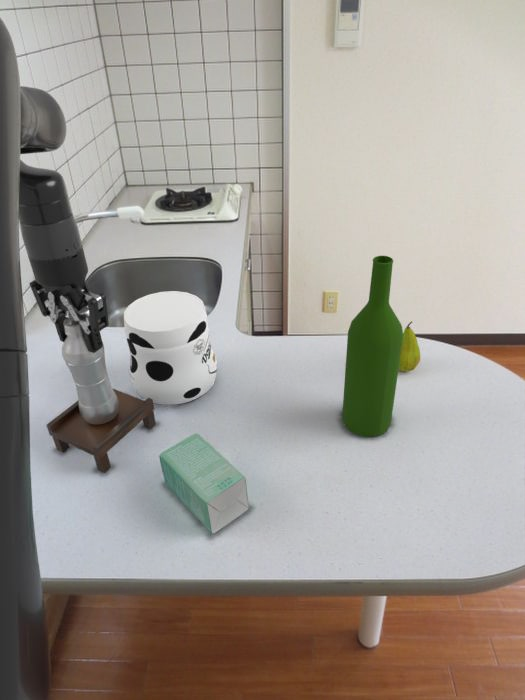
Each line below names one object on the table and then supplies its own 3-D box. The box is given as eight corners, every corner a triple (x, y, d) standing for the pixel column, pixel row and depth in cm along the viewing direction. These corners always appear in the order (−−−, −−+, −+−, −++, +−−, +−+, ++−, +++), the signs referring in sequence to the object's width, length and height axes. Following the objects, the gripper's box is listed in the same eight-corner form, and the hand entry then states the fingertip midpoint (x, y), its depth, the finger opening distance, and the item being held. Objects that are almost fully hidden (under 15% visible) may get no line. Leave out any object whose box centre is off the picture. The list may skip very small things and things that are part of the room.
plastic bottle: (126, 420, 92) (102, 323, 81) (87, 434, 89) (58, 336, 78) (115, 400, 97) (91, 306, 86) (78, 413, 94) (49, 317, 83)
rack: (104, 474, 89) (96, 448, 85) (55, 450, 94) (45, 424, 90) (157, 424, 98) (152, 399, 95) (110, 405, 104) (103, 380, 100)
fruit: (402, 355, 114) (409, 307, 107) (425, 369, 109) (433, 320, 103) (381, 366, 111) (387, 318, 104) (404, 381, 107) (411, 331, 100)
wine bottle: (399, 417, 98) (424, 256, 79) (375, 445, 92) (395, 278, 74) (357, 399, 102) (371, 242, 84) (332, 424, 97) (341, 262, 78)
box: (200, 461, 90) (195, 429, 86) (250, 509, 82) (247, 476, 77) (163, 483, 87) (156, 451, 82) (212, 536, 78) (207, 503, 74)
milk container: (236, 383, 108) (229, 307, 98) (169, 426, 98) (154, 347, 88) (182, 351, 118) (172, 280, 108) (117, 388, 108) (98, 312, 98)
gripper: (-1, 247, 75) (32, 345, 85) (70, 266, 69) (97, 369, 79) (41, 230, 81) (67, 323, 90) (110, 246, 74) (131, 344, 84)
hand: (81, 344), depth 84 cm, fingers closed on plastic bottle, 6 cm apart
